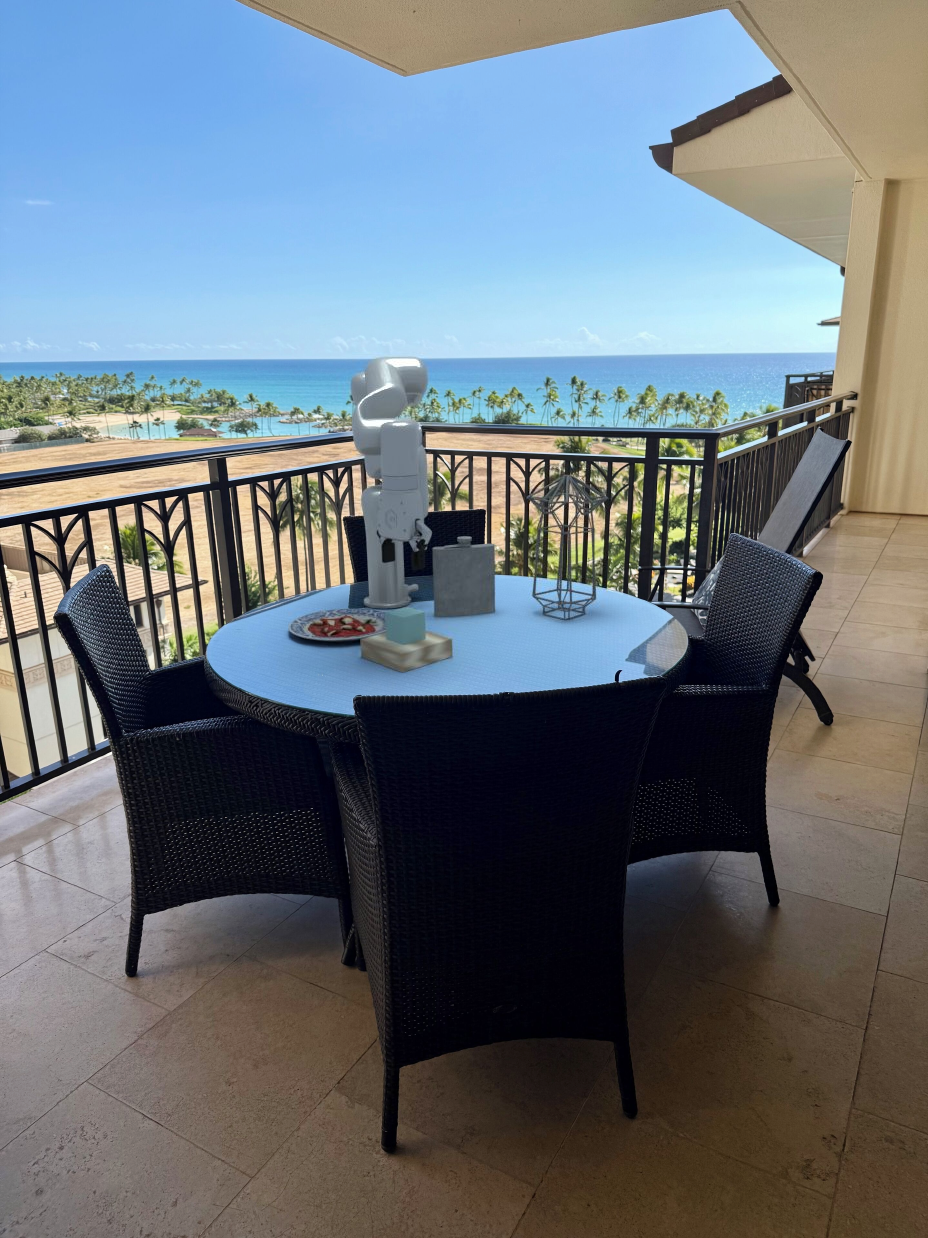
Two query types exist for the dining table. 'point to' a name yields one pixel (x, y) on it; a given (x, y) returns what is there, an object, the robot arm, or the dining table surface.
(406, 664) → the birch base
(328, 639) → the ceramic plate
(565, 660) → the dining table surface
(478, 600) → the hip flask
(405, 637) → the teal cube
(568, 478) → the geometric lantern
